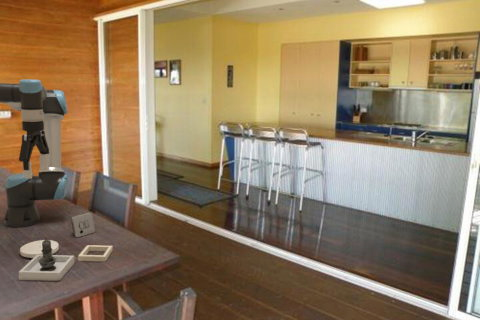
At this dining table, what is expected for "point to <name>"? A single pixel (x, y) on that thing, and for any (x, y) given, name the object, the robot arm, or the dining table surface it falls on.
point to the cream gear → (36, 248)
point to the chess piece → (47, 257)
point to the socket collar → (85, 257)
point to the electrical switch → (82, 224)
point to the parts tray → (34, 273)
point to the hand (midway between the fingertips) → (36, 173)
